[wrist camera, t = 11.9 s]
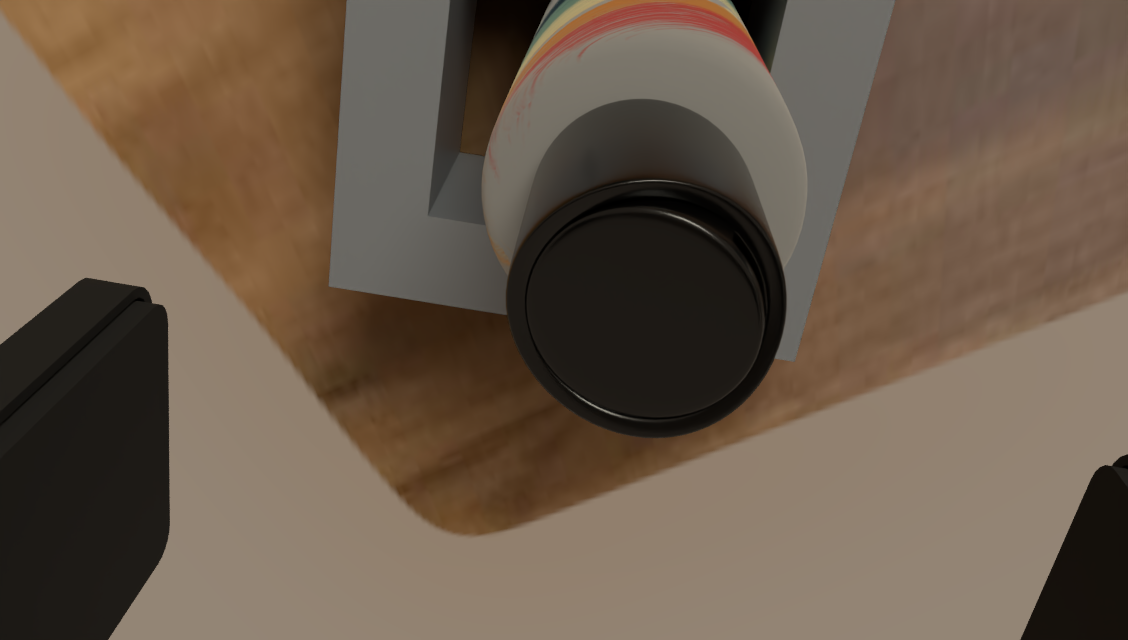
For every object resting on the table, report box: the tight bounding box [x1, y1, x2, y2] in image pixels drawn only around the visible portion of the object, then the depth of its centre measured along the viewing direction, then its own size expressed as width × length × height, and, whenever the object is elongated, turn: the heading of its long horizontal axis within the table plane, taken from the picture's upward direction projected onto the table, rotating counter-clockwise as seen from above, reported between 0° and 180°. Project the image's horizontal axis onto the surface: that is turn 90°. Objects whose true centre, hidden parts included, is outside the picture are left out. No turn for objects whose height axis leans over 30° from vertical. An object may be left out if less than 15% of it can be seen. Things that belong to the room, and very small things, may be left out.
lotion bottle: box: [481, 0, 807, 438], centre depth 23 cm, size 6×6×20 cm
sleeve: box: [329, 0, 895, 362], centre depth 29 cm, size 13×13×6 cm
